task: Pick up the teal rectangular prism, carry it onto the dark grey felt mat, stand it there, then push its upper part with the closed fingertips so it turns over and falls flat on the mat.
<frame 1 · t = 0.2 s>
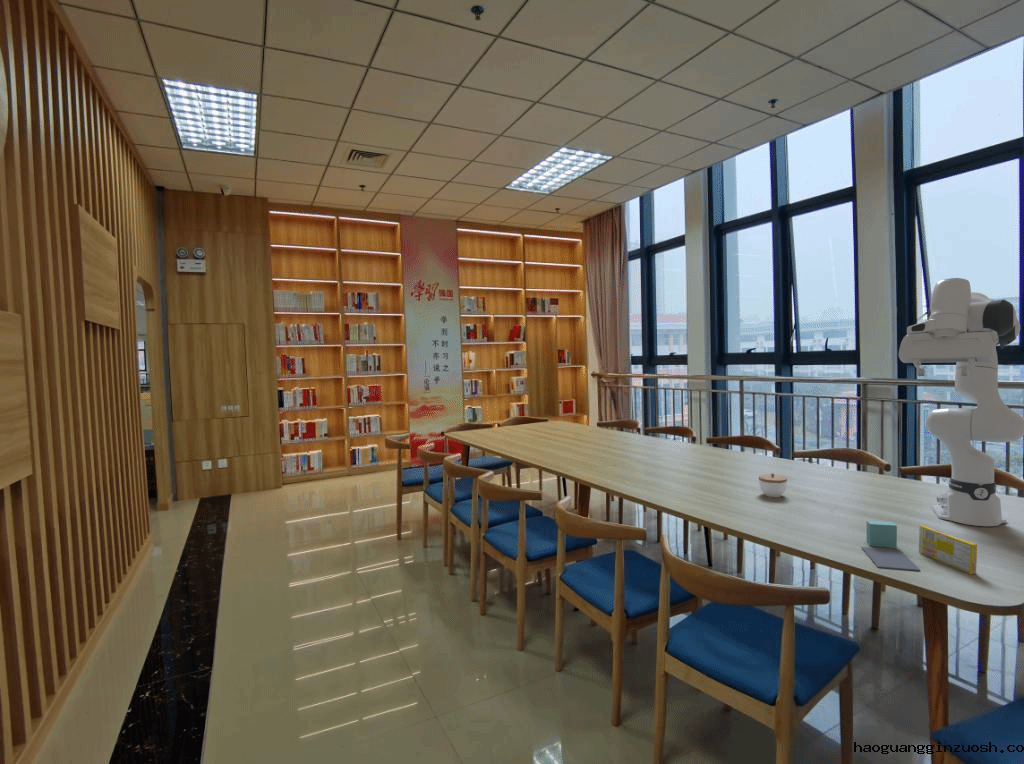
hand: (942, 375, 141), 54 cm above the table, tool tilted 30°, fingers open, 8 cm apart
felt mat: (889, 559, 152), on the table
lidded jar: (772, 495, 220), on the table
candy box: (946, 563, 149), on the table
teal rectangular prism: (881, 544, 163), on the table
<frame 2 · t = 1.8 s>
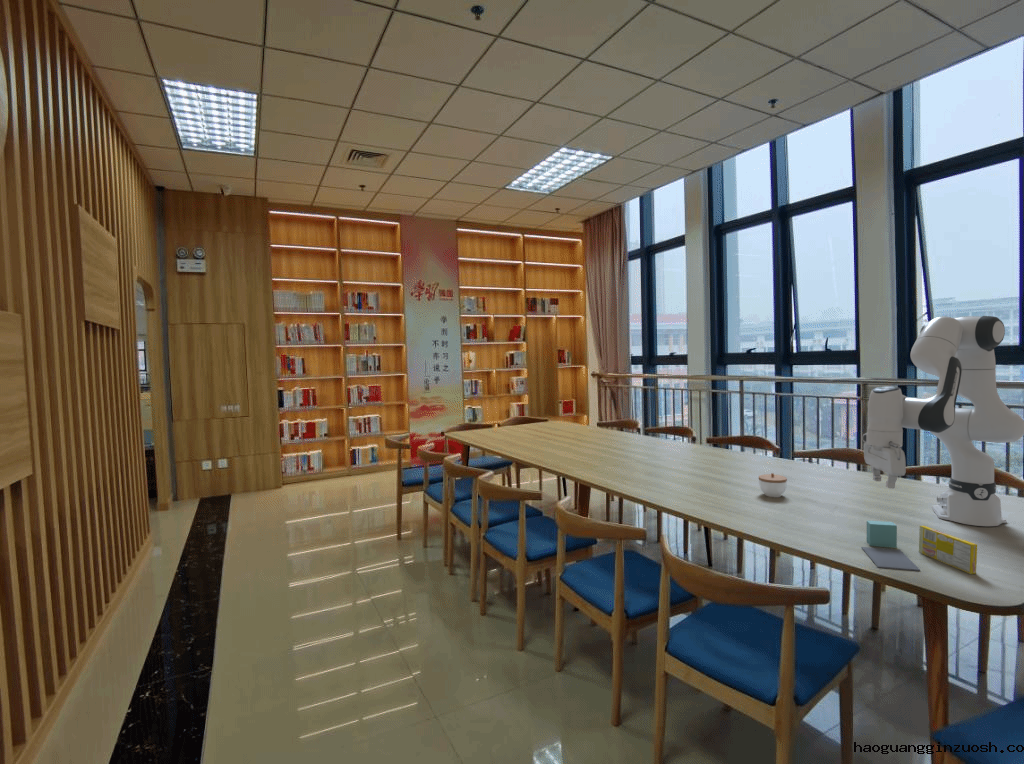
hand: (883, 484, 160), 20 cm above the table, tool pointing down, fingers open, 8 cm apart
nothing on the table moved.
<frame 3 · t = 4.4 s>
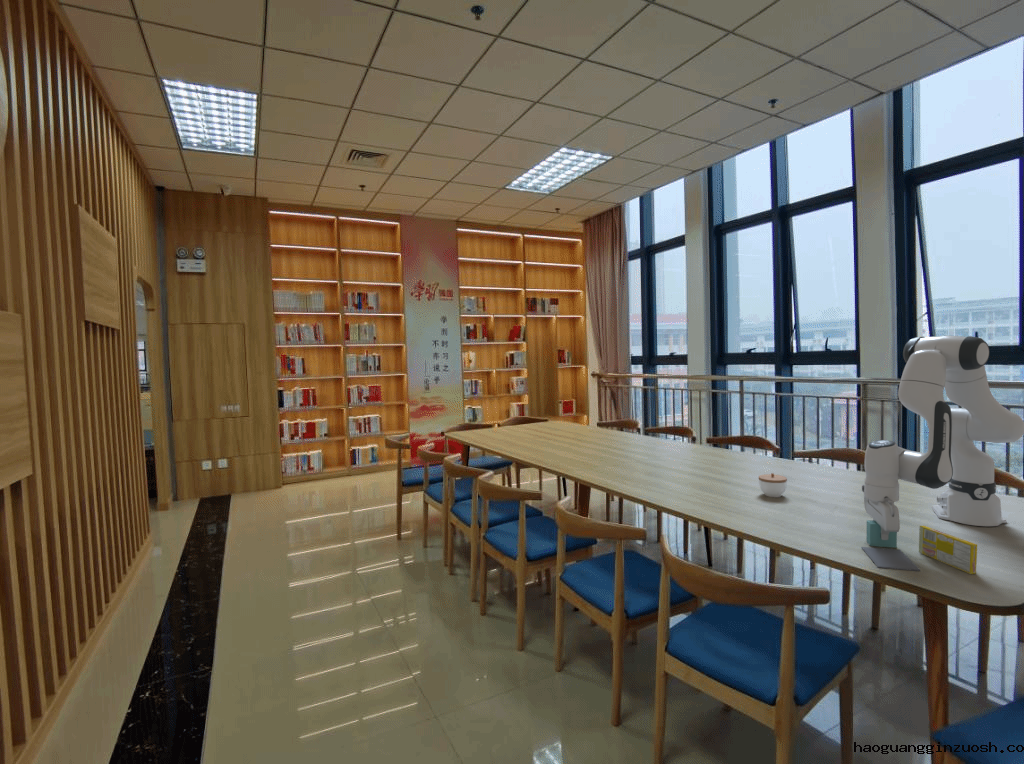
hand: (881, 536, 163), 3 cm above the table, tool pointing down, fingers closed on teal rectangular prism, 3 cm apart
teal rectangular prism: (881, 544, 163), on the table, touching gripper
everything else where it was.
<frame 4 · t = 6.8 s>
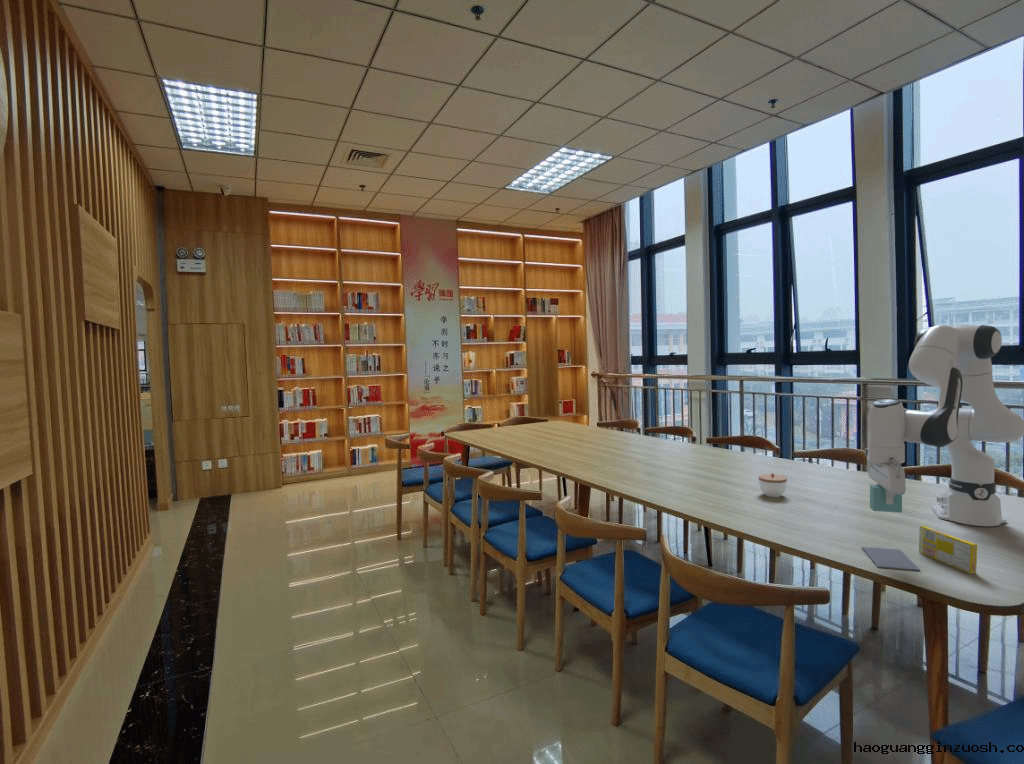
hand: (885, 501, 154), 16 cm above the table, tool pointing down, fingers closed on teal rectangular prism, 3 cm apart
teal rectangular prism: (885, 509, 154), point 14 cm above the table, touching gripper
everything else where it was.
when the fingers open (4 cm above the table, at t = 9.2 s): teal rectangular prism stays where it is, resting on felt mat.
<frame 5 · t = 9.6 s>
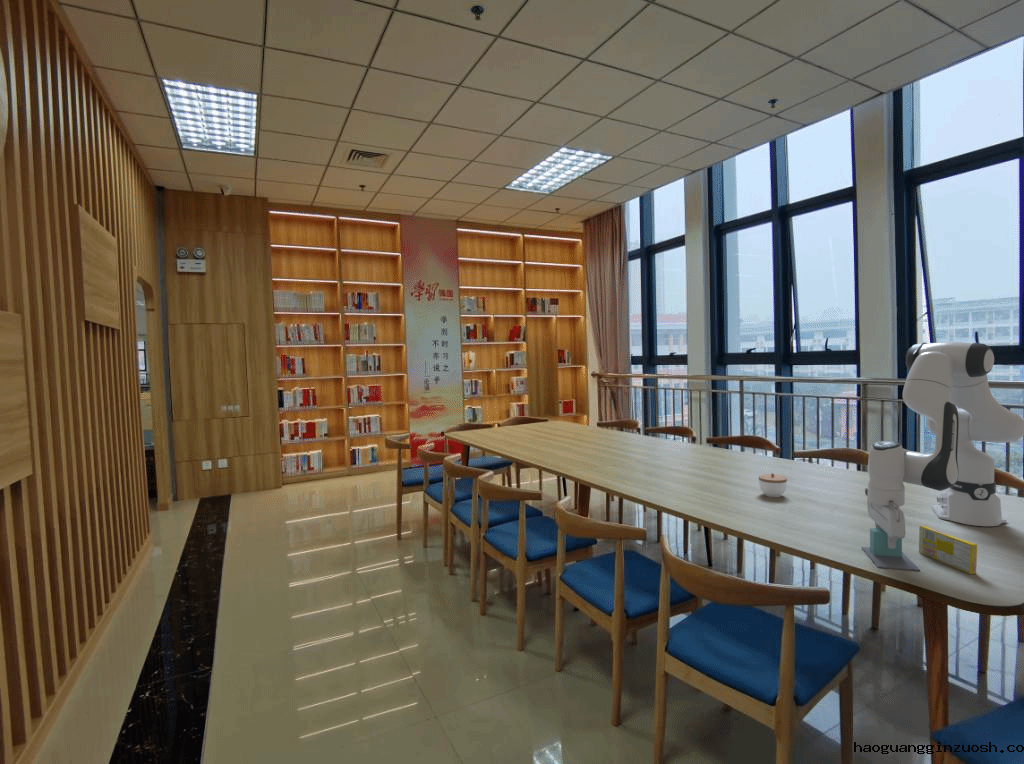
hand: (885, 542, 155), 4 cm above the table, tool pointing down, fingers open, 7 cm apart
teal rectangular prism: (885, 553, 155), resting on felt mat
everything else where it was.
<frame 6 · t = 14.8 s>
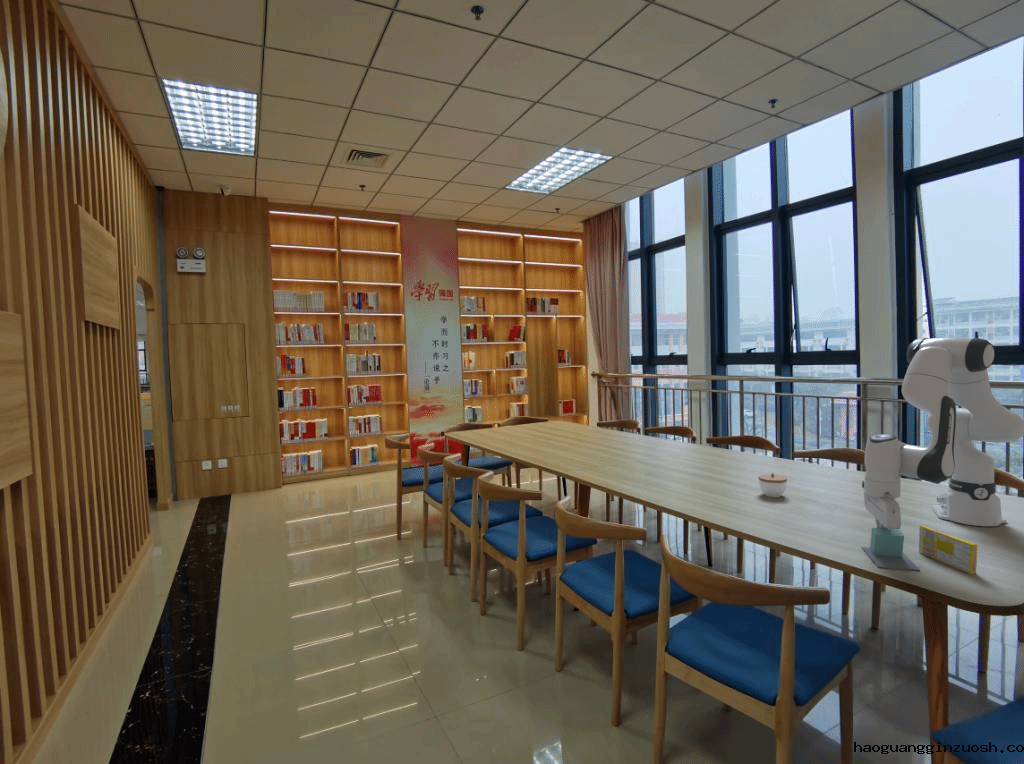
hand: (881, 534, 157), 6 cm above the table, tool pointing down, fingers closed
teal rectangular prism: (885, 552, 155), point 1 cm above the table, tilted 14°, touching felt mat
everything else where it was.
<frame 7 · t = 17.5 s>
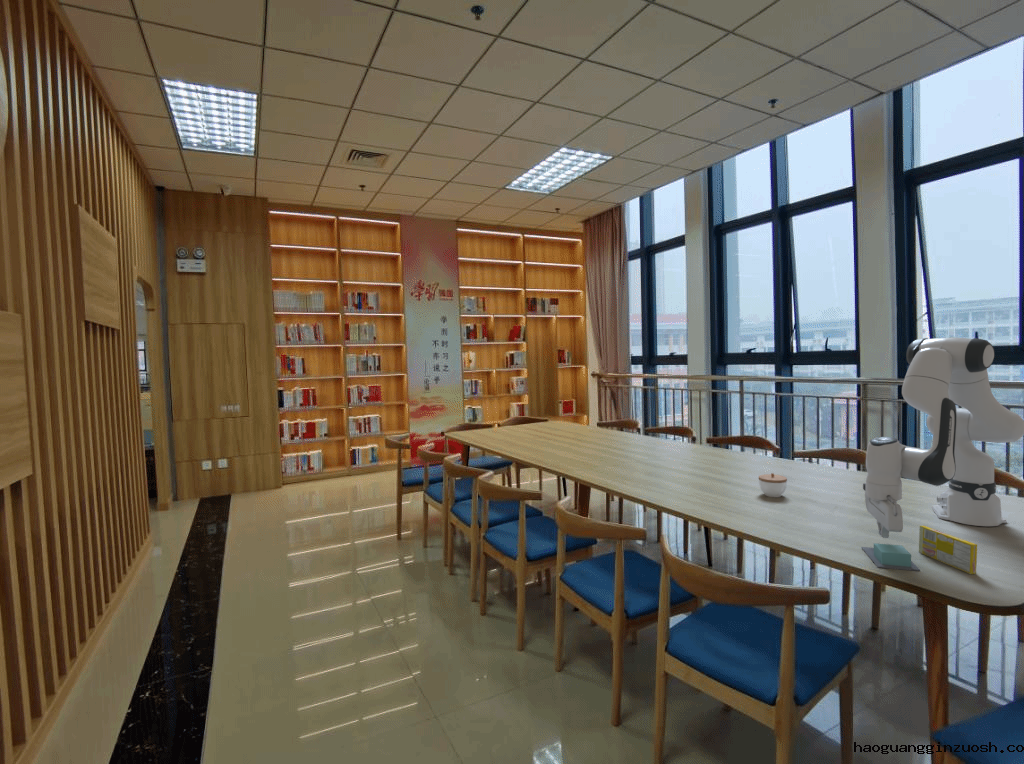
hand: (883, 536, 158), 5 cm above the table, tool pointing down, fingers closed
teal rectangular prism: (887, 550, 154), point 2 cm above the table, tilted 90°, touching felt mat
everything else where it was.
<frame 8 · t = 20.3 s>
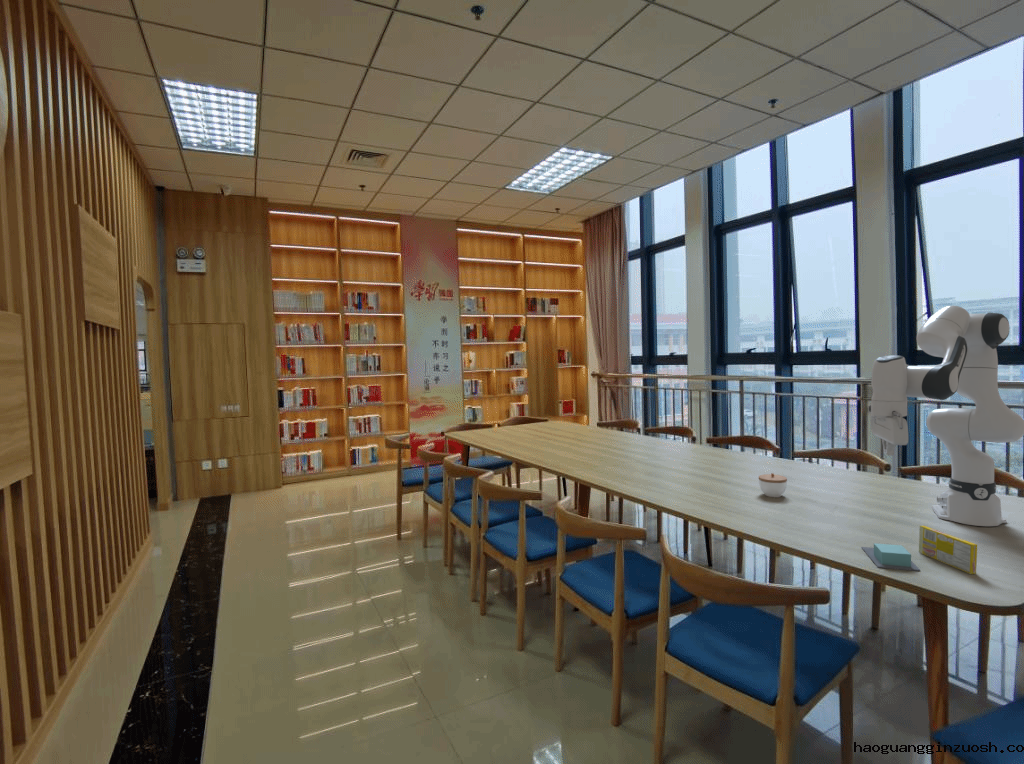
hand: (888, 454, 158), 29 cm above the table, tool pointing down, fingers closed
nothing on the table moved.
at the end: teal rectangular prism tilted 90°; teal rectangular prism inside the target area on the felt mat (2.3 cm from its centre), point 2.1 cm above the felt mat's base; the gripper is holding nothing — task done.
